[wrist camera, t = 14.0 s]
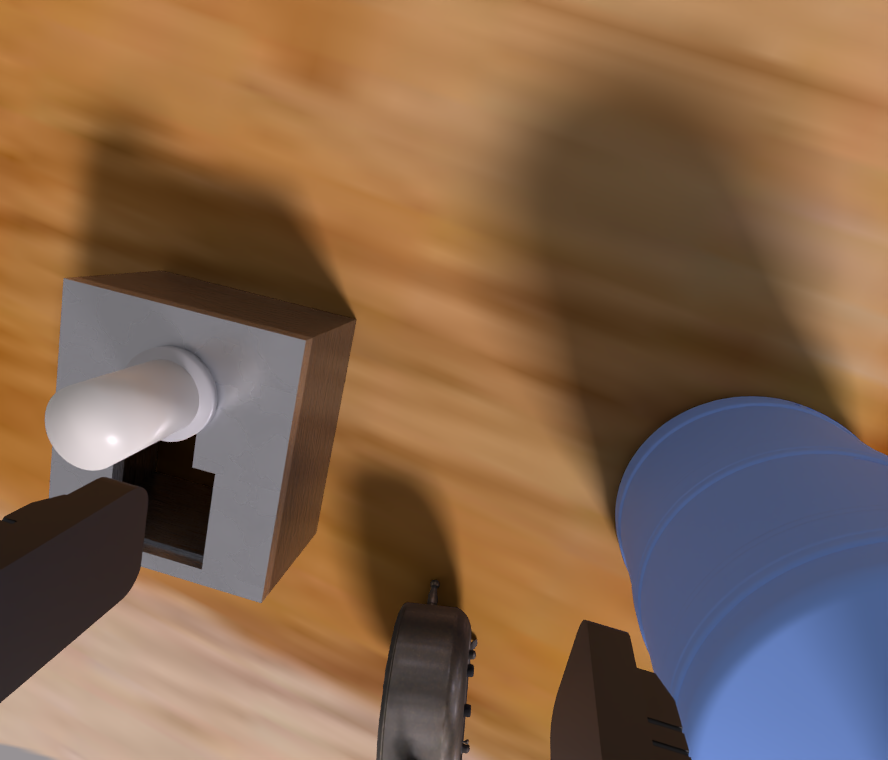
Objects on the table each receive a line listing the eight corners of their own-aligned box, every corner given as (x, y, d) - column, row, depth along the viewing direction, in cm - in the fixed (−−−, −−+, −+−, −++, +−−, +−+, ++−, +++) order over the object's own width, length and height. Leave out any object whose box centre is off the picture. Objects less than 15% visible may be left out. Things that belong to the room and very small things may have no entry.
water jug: (567, 539, 42) (608, 1075, 15) (707, 344, 38) (1110, 601, 11) (767, 660, 42) (1174, 1430, 15) (930, 477, 38) (1918, 1082, 11)
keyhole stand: (162, 270, 42) (63, 278, 34) (356, 319, 41) (305, 340, 32) (139, 482, 46) (46, 537, 38) (316, 533, 45) (261, 603, 36)
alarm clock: (413, 562, 44) (341, 737, 29) (489, 571, 43) (458, 757, 28) (408, 693, 47) (339, 921, 31) (479, 705, 46) (445, 944, 30)
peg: (172, 326, 37) (36, 358, 27) (253, 347, 37) (144, 387, 27) (163, 407, 39) (29, 466, 29) (241, 428, 38) (133, 496, 28)
